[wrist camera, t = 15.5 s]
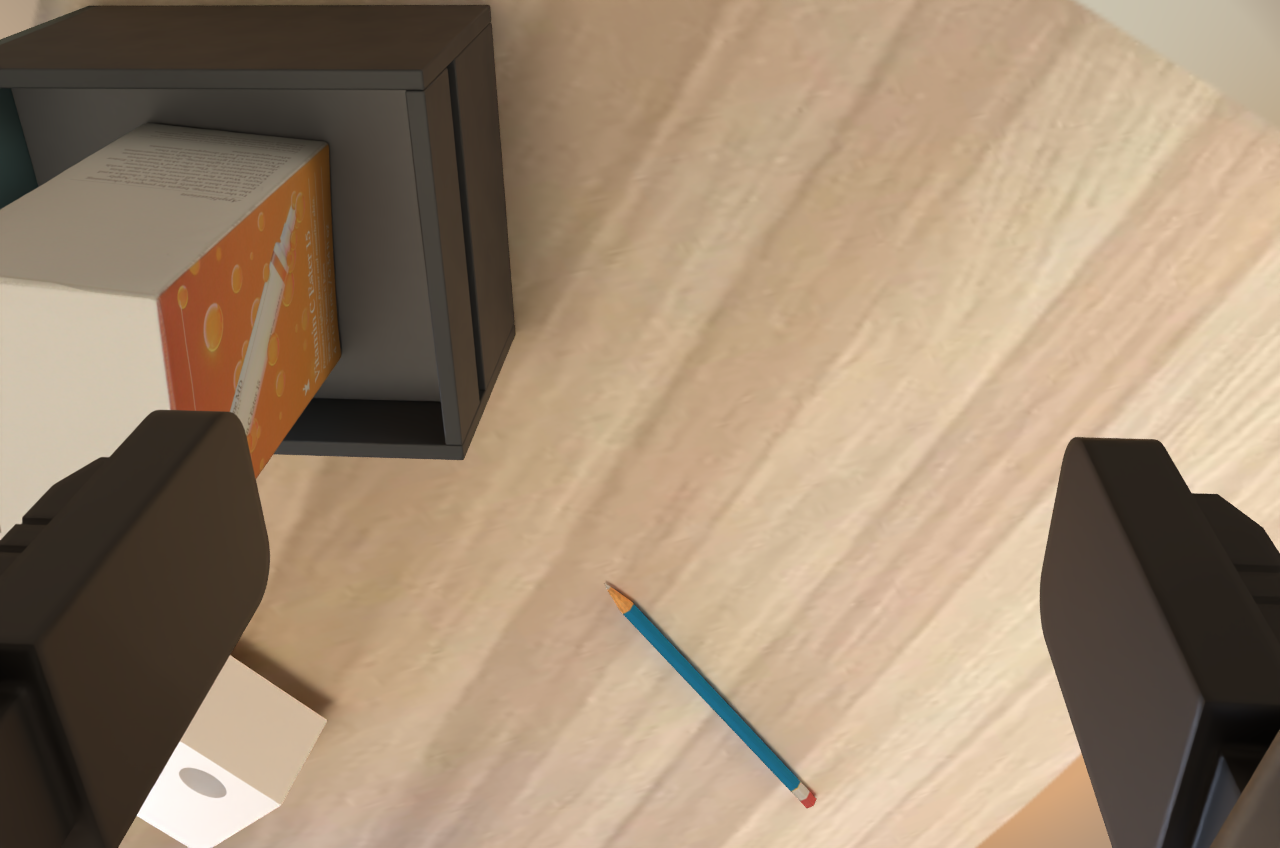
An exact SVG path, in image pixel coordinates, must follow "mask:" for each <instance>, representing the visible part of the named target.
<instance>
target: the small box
mask: <svg viewBox="0 0 1280 848" xmlns="http://www.w3.org/2000/svg"><path fill="white" fill-rule="evenodd" d="M340 358H341V348H340V340H339V331H338V319H337V306H336V292H335V272H334V259H333V239H332V215H331V194H330V164H329V145H328V144H327V143H326V142H324V141H314V140H304V139H293V138H283V137H275V136H265V135H255V134H245V133H235V132H227V131H218V130H210V129H199V128H190V127H180V126H170V125H162V124H154V123H146V124H143V125H141V126H140V127H138V128H136V129H134V130H133V131H131V132H129V133H127V134H126V135H124V136H122V137H121V138H119V139H117V140H115V141H114V142H112V143H110V144H109V145H107V146H105V147H104V148H102V149H100V150H99V151H97V152H95V153H94V154H92V155H90V156H88V157H87V158H85V159H83V160H82V161H80V162H79V163H77V164H75V165H74V166H72V167H70V168H68V169H67V170H65V171H64V172H62V173H60V174H59V175H57V176H56V177H54V178H52V179H51V180H49V181H48V182H46V183H45V184H43V185H41V186H39V187H38V188H36V189H34V190H33V191H31V192H29V193H27V194H25V195H24V196H22V197H21V198H19V199H17V200H15V201H14V202H12V203H10V204H9V205H7V206H5V207H4V208H2V209H0V540H1V539H2V538H3V537H4V536H5V535H6V534H7V532H8V531H9V530H10V529H11V528H12V527H13V526H14V525H15V524H22V517H23V516H24V515H25V514H26V513H27V512H28V511H29V510H30V508H31V507H32V506H33V505H34V504H35V503H36V502H37V501H38V500H39V499H40V498H41V497H42V496H43V495H44V494H45V493H46V492H47V491H48V490H49V489H50V488H51V487H52V486H53V485H54V484H55V483H57V482H59V481H60V480H62V479H64V478H66V477H67V476H69V475H71V474H72V473H74V472H76V471H77V470H79V469H81V468H83V467H84V466H86V465H88V464H89V463H91V462H93V461H95V460H96V459H98V458H100V457H110V456H111V455H112V454H113V453H114V451H115V450H116V449H117V448H118V447H119V446H120V445H121V444H122V443H123V442H124V441H125V439H126V438H127V437H128V436H129V435H130V434H131V433H132V432H133V431H134V430H135V429H136V427H137V426H138V425H139V424H140V423H141V422H142V421H143V420H144V419H145V418H146V417H147V416H148V415H149V414H150V413H151V412H153V411H155V410H188V411H224V412H232V413H234V414H235V415H237V417H238V418H239V419H240V421H241V422H242V424H243V427H244V429H245V433H246V436H247V441H248V446H249V450H250V455H251V460H252V464H253V469H254V474H255V479H256V478H257V477H258V475H259V474H260V472H261V471H262V470H263V468H264V467H265V465H266V464H267V463H268V461H269V460H270V458H271V457H272V455H273V454H274V453H275V451H276V450H277V448H278V447H279V445H280V444H281V442H282V441H283V439H284V438H285V437H286V435H287V434H288V432H289V431H290V429H291V428H292V427H293V425H294V424H295V422H296V421H297V419H298V418H299V417H300V415H301V414H302V412H303V411H304V410H305V408H306V407H307V405H308V404H309V402H310V401H311V400H312V398H313V397H314V396H315V394H316V393H317V391H318V390H319V388H320V387H321V386H322V384H323V383H324V381H325V380H326V379H327V377H328V376H329V374H330V373H331V371H332V370H333V368H334V367H335V366H336V364H337V363H338V361H339V360H340Z"/></svg>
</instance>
